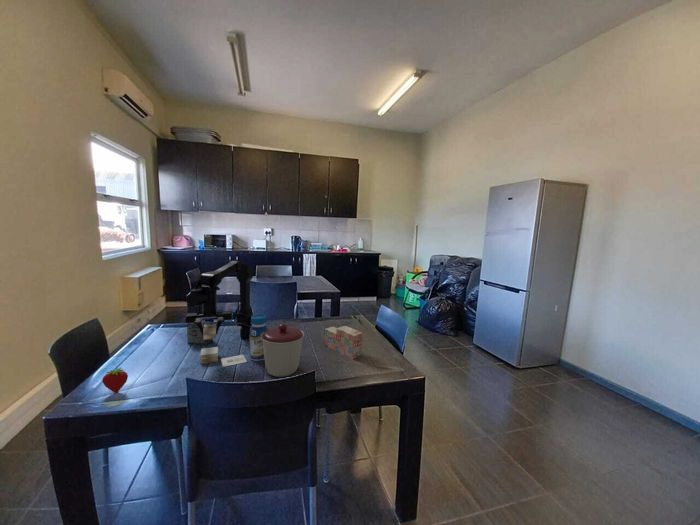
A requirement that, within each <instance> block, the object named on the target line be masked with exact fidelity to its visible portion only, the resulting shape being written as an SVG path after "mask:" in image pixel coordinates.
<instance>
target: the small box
mask: <svg viewBox="0 0 700 525" xmlns="http://www.w3.org/2000/svg"><path fill="white" fill-rule="evenodd" d="M202 323H203V328H204V325H212V324H214V322H213V321H206V320H202ZM186 327H187V330H186V332H187V344H189V345H190V344H191V345H200V346H201V345H202V346H207V345H208V344H210V343H212V342H213V341H214V339H206V340H203V335H202V333H201V331H200V329H199V327H198V326H197V324H194V323H186Z"/></svg>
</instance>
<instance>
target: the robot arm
mask: <svg viewBox="0 0 700 525" xmlns="http://www.w3.org/2000/svg"><path fill="white" fill-rule="evenodd" d="M232 273H235V275H236V277H235V278H236V280H237V281H238V283H239V310H238V311H237V312H236V313H235V321H236V323H237V326H238V327H240V328H239V337H240V338H241V340H246V339H249V335H250V328H251V326H252V324H251V317H252V316H253V315H254V313H253V311H252V310H251V306H250V305H251V295H250V293H251V291H250V282H251V281H252V279H253V277H254V269H253V268H252V267H251V266H249V265H247V264H245V263H243V262H241V261H239V260H231V261H229V263H226V264H225V265H223V266H221V267H220V268H218V269H216V270H214V271H213V270H211V271H208V272H204V273H201V275H200V277H199V279H198V281H197V283H196V285H195V287H194V289H192V290H191V289H190V291H189V294H187V295H186V298H185V301H186V304H187V305H188V306H189V307H192V308H194V307H197V306H199V311H200V312H202V314H197V312H189V313H188V312H187V313H186V316H185V320H184V321H185V324H188V323H194V324H197V326H198V327H199V329H200V331H201V333H202V335H203V323H202V321H203V320H206V319H208V320H210V319H211V320H212V319H216V336H217V335H218V332H219V329H220V327H221V325H222V323H225V321H231V320H233V311H232V310H223V311H222V313H218V306H217V305H218V304H217V303H218V302H217V298H218V296H217V295H218V294H217V293H218V292H217V291H220V290H221V288H220V287H219V285H220V284H221V283H222V281H223V279H225V278H226V277H228V276H229V275H231V274H232Z"/></svg>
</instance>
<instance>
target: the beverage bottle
mask: <svg viewBox="0 0 700 525" xmlns="http://www.w3.org/2000/svg"><path fill="white" fill-rule="evenodd" d="M251 324H252V326H251V328H250V335H249V338H248V339H249V359H250V360H252V361H255V362H258V361H259V362H260V361H265V359H264V350H263V341H262V339H261V334H262V333H263V332H264V331H266V330H268V329H269V328H268V327H267V315H265V314H260V313H259V314H253V316H252V317H251Z"/></svg>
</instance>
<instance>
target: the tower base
mask: <svg viewBox="0 0 700 525" xmlns="http://www.w3.org/2000/svg"><path fill="white" fill-rule="evenodd" d="M217 362H219V346H214V347H203V348H201V350H200V365H201V364H209V363H217Z"/></svg>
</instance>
